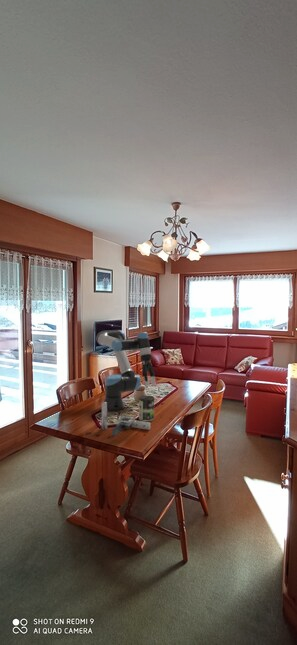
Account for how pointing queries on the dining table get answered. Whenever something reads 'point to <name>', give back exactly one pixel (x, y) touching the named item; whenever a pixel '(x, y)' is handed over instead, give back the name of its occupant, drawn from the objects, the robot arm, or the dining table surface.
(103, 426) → the pin
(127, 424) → the grey flat branched piece
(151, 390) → the dining table surface
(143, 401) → the coffee can
